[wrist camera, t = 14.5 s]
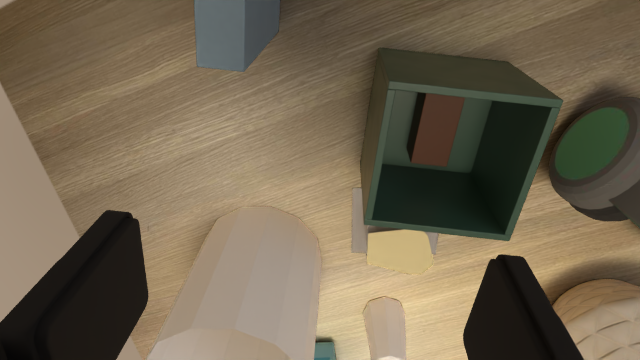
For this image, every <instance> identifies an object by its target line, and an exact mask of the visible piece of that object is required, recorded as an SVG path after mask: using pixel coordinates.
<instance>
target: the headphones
mask: <svg viewBox="0 0 640 360" xmlns="http://www.w3.org/2000/svg"><path fill="white" fill-rule="evenodd" d="M549 176H550V180H551V183H552V186H553V188H554V189H555V191H556V192H557V193H558V194H559V195H560V196H561V197H562V198H563V199H565V200H566V201H568V202H569V203H570V205H571V206H572V207H574V208H575V209H576V210H577V211H579V212H581V213H583V214H584V215H586V216H588V217H590V218H593V219H595V220H601V221H622V220H627V219H630V220H631V221H632V222H633V223H634V224H636V225H637V226H638V227H639V228H640V99H639V98H634V97H623V98H616V99H610V100H607V101H604V102H602V103H599V104H597V105H595V106H593V107H592V108H590V109H589V110H587V111H585V112H584V113H583V114H581V115H580V116H579V117H578V118H577V119H575V120H574V121H573V122H572V123H571V124H570V125H569V126H568V128H567V129H566V130H565V131H564V132H563V134H562V135H561V137H560V138H559V140H558V141H557V143H556V145H555V147H554V149H553V151H552V154H551V157H550V162H549Z"/></svg>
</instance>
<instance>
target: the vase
mask: <svg viewBox="0 0 640 360" xmlns="http://www.w3.org/2000/svg"><path fill="white" fill-rule="evenodd" d="M552 307H553V309H554V310H555V312H556V314H557V315H558V316H559V317H560V319H561V320H562V322H563V324H564V326H565V327H566V329H567V331H568V332H569V334H570V336H571V338H572V339H573V341H574V343H575V345H576V346H577V348H578V350H579V352H580V353H581V355H582V357H583V358H584V360H640V287H639V286H636V285H633V284H630V283H627V282H624V281H620V280H615V279H598V280H592V281H588V282H585V283H582V284H579V285H577V286H575V287H573V288H571V289H569V290H568V291H566V292H565V293H564V294H562V295H561V296H560V297H559V298H558V299H557V300H556V302H555V303H554V304H553V306H552Z"/></svg>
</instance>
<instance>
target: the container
mask: <svg viewBox="0 0 640 360" xmlns="http://www.w3.org/2000/svg"><path fill="white" fill-rule="evenodd" d="M321 269H322V258H321V253H320V249H319V244H318V239H317V237H316V236H315V235H314V234H313V233H312V232H311V231H310V230H309V228H308V227H307V226H306V225H305V224H304V223H303V222H302V221H301V220H300V219H299V218H298V217H295V216H293V215H291V214H288V213H286V212H283V211H281V210H279V209H276V208H274V207H272V206H260V207H240V208H238V209H236V210H234V211H232V212H230V213H228V214H226V215H224V216H222V217H220V218H218V219H217V220H216V222H215V224H214V225H213V227H212V228H211V230H210V232H209V233H208V235H207V237H206V238H205V240H204V242H203V244H202V246H201V248H200V250H199V252H198V254H197V256H196V258H195V260H194V262H193V264H192V266H191V268H190V271H189V273H188V275H187V277H186V279H185V281H184V283H183V285H182V287H181V289H180V291H179V293H178V295H177V297H176V299H175V301H174V303H173V305H172V307H171V309H170V311H169V313H168V315H167V317H166V319H165V321H164V323H163V325H162V327H161V329H160V331H159V333H158V335H157V337H156V339H155V341H154V343H153V345H152V347H151V349H150V351H149V353H148V355H147V357H146V359H145V360H314V352H315V340H316V328H317V316H318V304H319V292H320V280H321Z"/></svg>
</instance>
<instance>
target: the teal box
mask: <svg viewBox="0 0 640 360" xmlns="http://www.w3.org/2000/svg"><path fill="white" fill-rule="evenodd" d="M314 360H336V356H335V349H334V344H333V342H315V352H314Z"/></svg>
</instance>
